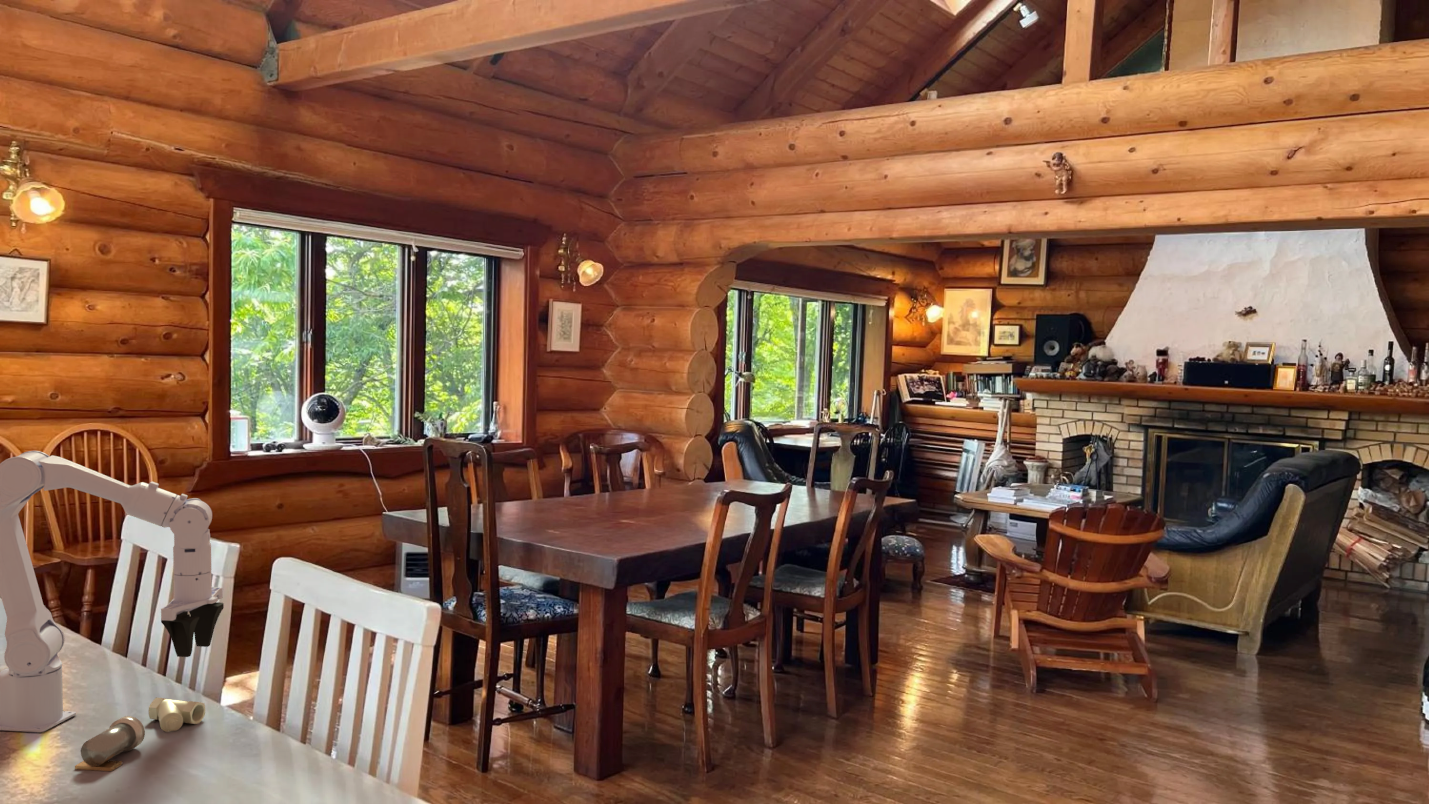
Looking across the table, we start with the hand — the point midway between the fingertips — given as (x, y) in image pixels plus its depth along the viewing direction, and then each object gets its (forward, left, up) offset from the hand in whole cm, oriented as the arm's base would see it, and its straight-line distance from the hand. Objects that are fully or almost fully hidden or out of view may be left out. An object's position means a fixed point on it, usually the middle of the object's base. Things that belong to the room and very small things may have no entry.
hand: (193, 651), depth 174 cm
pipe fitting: (0, -7, -10) cm, 13 cm away
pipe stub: (0, -21, -10) cm, 23 cm away
